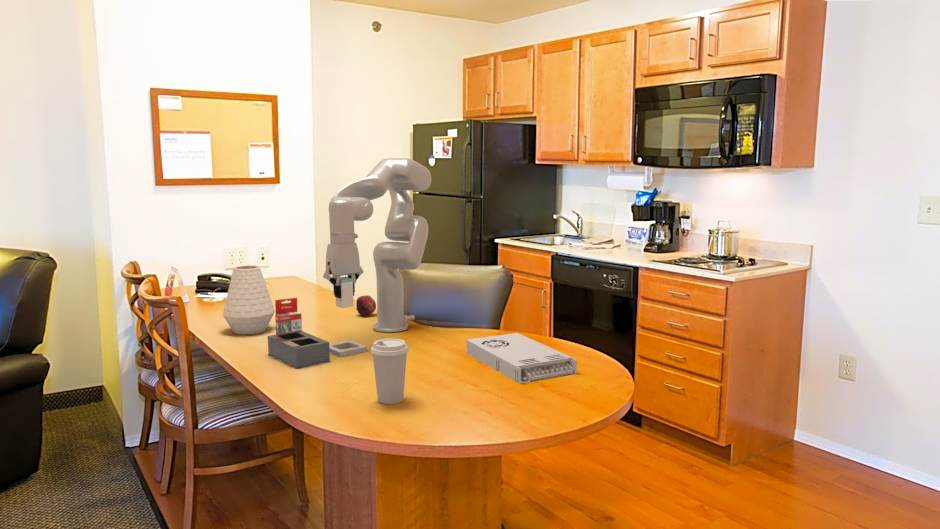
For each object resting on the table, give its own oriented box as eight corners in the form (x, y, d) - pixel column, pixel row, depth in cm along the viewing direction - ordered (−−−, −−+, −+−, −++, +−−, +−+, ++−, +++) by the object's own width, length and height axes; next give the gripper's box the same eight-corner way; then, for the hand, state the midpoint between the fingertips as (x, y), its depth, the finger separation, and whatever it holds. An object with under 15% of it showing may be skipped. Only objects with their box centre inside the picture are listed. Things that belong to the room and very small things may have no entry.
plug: (347, 304, 213) (346, 276, 211) (353, 306, 210) (352, 278, 208) (336, 306, 210) (335, 278, 209) (342, 308, 207) (341, 279, 206)
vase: (213, 334, 231) (209, 269, 228) (247, 323, 247) (243, 262, 244) (253, 339, 225) (249, 272, 221) (285, 327, 241) (282, 265, 237)
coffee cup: (372, 393, 173) (371, 338, 170) (409, 392, 174) (408, 337, 171) (370, 407, 163) (369, 348, 161) (409, 406, 164) (408, 347, 162)
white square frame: (350, 344, 219) (350, 340, 219) (367, 351, 211) (367, 346, 211) (323, 350, 212) (323, 345, 212) (339, 357, 205) (339, 352, 205)
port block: (300, 348, 215) (300, 329, 214) (329, 361, 200) (329, 341, 200) (268, 354, 208) (267, 335, 207) (296, 368, 193) (295, 347, 192)
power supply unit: (520, 386, 181) (520, 368, 180) (466, 354, 210) (466, 339, 209) (576, 376, 189) (577, 359, 188) (517, 347, 218) (517, 332, 217)
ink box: (302, 341, 222) (301, 299, 220) (279, 345, 218) (277, 301, 216) (299, 339, 225) (297, 297, 223) (276, 342, 221) (274, 299, 219)
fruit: (380, 315, 261) (379, 295, 259) (366, 319, 254) (366, 298, 253) (365, 312, 265) (364, 293, 264) (351, 316, 258) (351, 296, 257)
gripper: (359, 235, 215) (360, 290, 218) (312, 240, 204) (314, 298, 207) (371, 237, 209) (373, 294, 212) (324, 242, 198) (326, 302, 201)
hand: (344, 295), depth 209 cm, fingers closed on plug, 4 cm apart
